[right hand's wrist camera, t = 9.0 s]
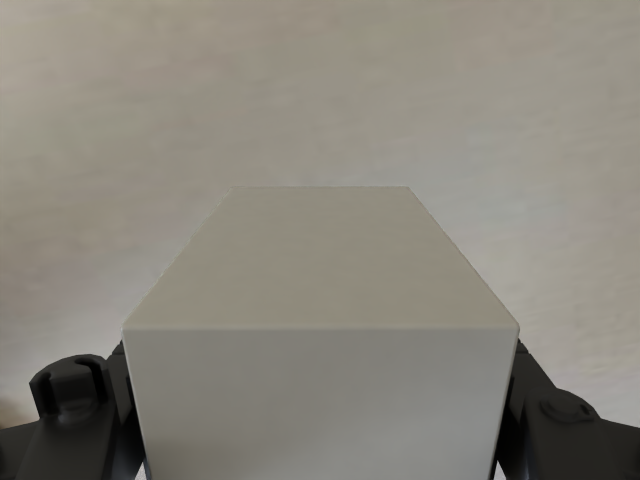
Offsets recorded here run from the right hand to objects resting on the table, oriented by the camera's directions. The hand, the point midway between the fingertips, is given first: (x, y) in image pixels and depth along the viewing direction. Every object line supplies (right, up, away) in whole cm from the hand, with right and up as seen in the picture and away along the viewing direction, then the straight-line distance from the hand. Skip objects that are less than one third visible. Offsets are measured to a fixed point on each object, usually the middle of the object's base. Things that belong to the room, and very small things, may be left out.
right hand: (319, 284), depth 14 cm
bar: (0, -7, +4) cm, 8 cm away
